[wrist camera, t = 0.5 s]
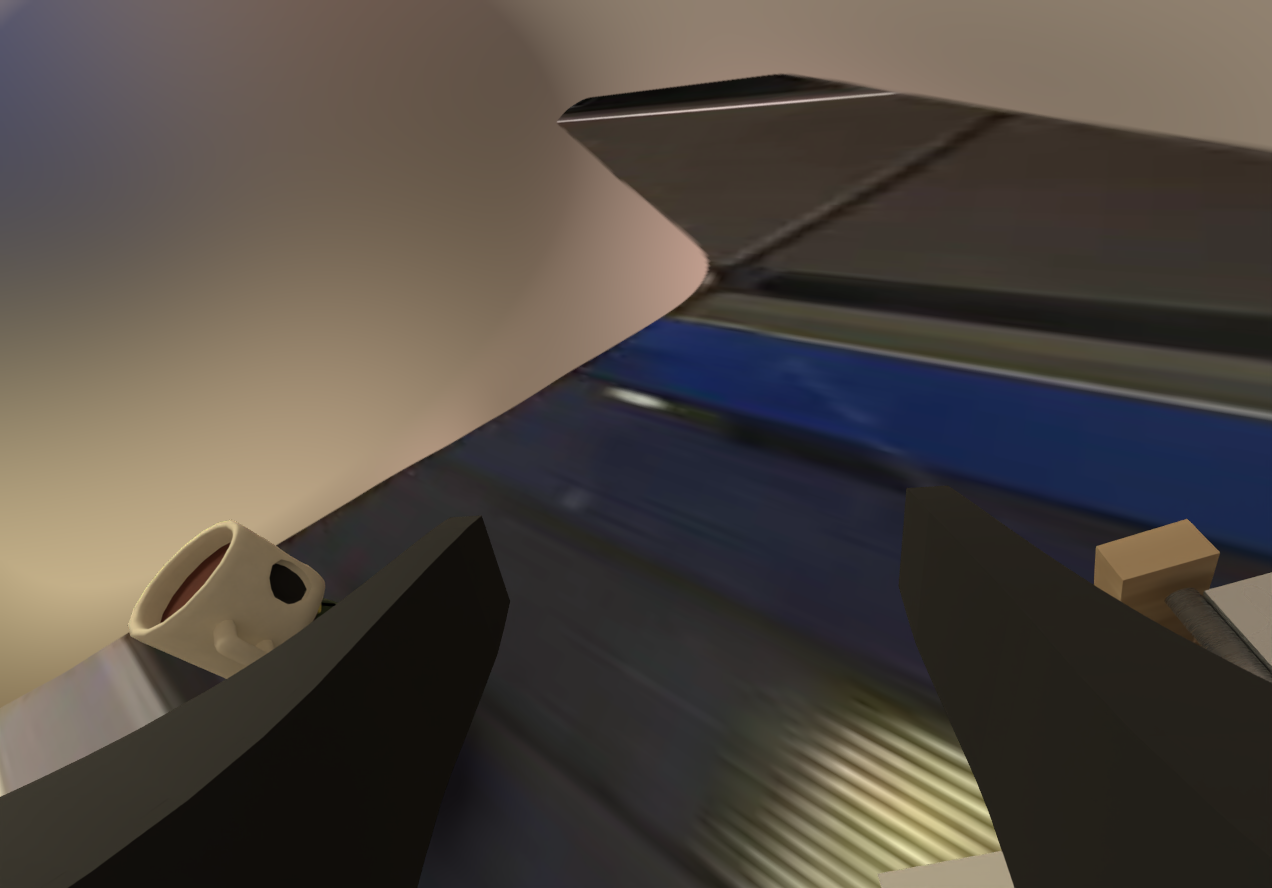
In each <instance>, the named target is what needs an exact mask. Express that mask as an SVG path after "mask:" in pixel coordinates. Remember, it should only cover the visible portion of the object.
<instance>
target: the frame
mask: <svg viewBox="0 0 1272 888" xmlns="http://www.w3.org/2000/svg"><path fill="white" fill-rule="evenodd" d="M1219 555H1220V552H1219V551H1218V550H1217V549H1216V548H1215V547H1214V546H1213V545H1212V544H1211V543H1210V542H1209V541H1208V540H1207V539H1206V538H1205V537H1204V536H1203V535H1202V534H1201V533H1200V532H1199V531H1198V530H1197V529H1196V527H1195V526H1194V525H1193V524H1192V523H1191V522H1190V521H1189V520H1188V519H1186V520H1182V521H1179V522H1176V523H1172V524H1169V525H1166V526H1162V527H1159V528H1156V529H1152V530H1149V531H1146V532H1143V533H1139V534H1136V535H1133V536H1129V537H1126V538H1123V539H1119V540H1116V541H1113V542H1109V543H1106V544H1103V545H1100V546H1096V557H1095V577H1094V585H1095V586H1096V587H1098V588H1100V589H1101V590H1103V591H1105V592H1106V593H1108V594H1109V595H1111V596H1113V597H1114V598H1116V599H1118V600H1119V601H1121V602H1123V603H1124V604H1126V605H1128V606H1129V607H1131V608H1133V609H1134V610H1136V611H1138V612H1139V613H1141V614H1143V615H1144V616H1146V617H1148V618H1150V619H1151V620H1153V621H1155V622H1157V623H1158V624H1160V625H1162V626H1164V627H1166V628H1167V629H1169V630H1171V631H1173V632H1174V633H1176V634H1178V635H1180V636H1182V637H1184V638H1186V639H1188V640H1190V641H1191V642H1193V643H1195V644H1197V645H1199V646H1201V645H1200V644H1199V643H1198V642H1197V640H1196V639H1195V638H1194V637H1193V636H1192V634H1191V633H1190V632H1189V631H1188V630H1187V628H1186V627H1185V626H1184V625H1183V624H1182V622H1181V621H1180V620H1179V619H1178V617H1177V616H1176V615H1175V614H1174V613H1173V611H1172V610H1171V609H1170V608H1169V607H1168V605H1167V604H1166V603H1165V601H1164V600H1165V598H1166V597H1167V596H1169V595H1170V594H1172V593H1173V592H1176V591H1178V590H1181V589H1185V588H1195V589H1196V590H1197V591H1198V592H1199V593H1200V594H1201V595H1202V596H1203V594H1204V591H1206V590H1209V588H1210V584H1211V581H1212V578H1213V574H1214V571H1215V568H1216V565H1217V561H1218V558H1219Z"/></svg>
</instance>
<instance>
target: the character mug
mask: <svg viewBox="0 0 1272 888" xmlns="http://www.w3.org/2000/svg"><path fill="white" fill-rule="evenodd" d="M324 591H325V581H324V580H323V578H322V577H321V576H320V575H319V574H318V573H317V572H316V571H315V570H313V569H312V568H311V567H309V566H308V565H306V564H304V563H302V562H300V561H298V560H296V559H295V558H293V557H291V556H290V555H288V554H287V553H285V552H284V551H282V550H281V549H280V548H278V547H277V546H275V545H274V544H272V543H270V542H269V541H268V540H266V539H265V538H263V537H260V536H259V535H257V534H256V533H254V532H253V531H251V530H249V529H248V528H246V527H244V526H242V525H241V524H239V523H237V522H235V521H233V520H228V521H223V522H219V523H217V524H215V525H214V526H212V527H210V528H208V529H206V530H204V531H203V532H201V533H200V534H199V535H197V536H196V537H195V538H193V539H192V540H191V541H189V542H188V543H187V544H186V545H184V546H183V547H182V548H181V549H180V550H179V551H178V552H177V553H176V554H175V555H174V556H173V557H172V558H171V559H170V560H169V561H168V562H167V563H166V564H165V565H164V566H163V568H162V569H161V570H160V571H159V572H158V574H157V575H156V576H155V577H154V579H153V580H152V581H151V582H150V584H149V585H148V586H147V587H146V589H145V591H144V592H143V594H142V595H141V597H140V599H139V600H138V602H137V604H136V605H135V607H134V609H133V612H132V615H131V618H130V621H129V624H128V629H129V632H130V635H131V637H133V638H135V639H137V640H139V641H141V642H143V643H145V644H148V645H150V646H152V647H155V648H157V649H159V650H161V651H164V652H166V653H168V654H171V655H173V656H175V657H178V658H180V659H182V660H184V661H187V662H189V663H191V664H194V665H196V666H198V667H201V668H203V669H205V670H208V671H210V672H212V673H214V674H217V675H219V676H221V677H224V678H226V679H228V678H229V677H231V676H232V675H234V674H236V673H237V672H239V671H240V670H242V669H244V668H245V667H247V666H248V665H250V664H251V663H253V662H255V661H256V660H258V659H259V658H261V657H262V656H264V655H266V654H267V653H269V652H270V651H272V650H273V649H275V648H276V647H278V646H279V645H281V644H282V643H284V642H285V641H286V640H288V639H289V638H291V637H292V636H294V635H295V634H297V633H298V632H299V631H301V630H302V629H303V628H305V627H306V626H307V625H309V624H310V623H312V622H313V621H314V620H316V619H317V618H318V617H320V616H321V615H322V614H324V613H325V612H327V611H328V610H329V609H331V608H332V607H333V606H335V605H336V604H337V602H334V601H331V600H328V599H325V598H323V596H324Z"/></svg>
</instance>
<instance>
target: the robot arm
mask: <svg viewBox="0 0 1272 888" xmlns="http://www.w3.org/2000/svg"><path fill="white" fill-rule="evenodd" d="M899 589H900V592H901V596H902V599H903V603H904V606H905V610H906V613H907V617H908V620H909V623H910V627H911V630H912V633H913V636H914V639H915V643H916V645H917V647H918V650H919V652H920V654H921V657H922V659H923V661H924V664H925V666H926V668H927V671H928V673H929V675H930V677H931V680H932V682H933V684H934V687H935V689H936V691H937V693H938V696H939V698H940V700H941V702H942V705H943V707H944V709H945V711H946V714H947V716H948V718H949V720H950V723H951V725H952V727H953V729H954V732H955V734H956V736H957V738H958V741H959V743H960V745H961V747H962V750H963V752H964V754H965V756H966V759H967V761H968V763H969V765H970V768H971V770H972V772H973V774H974V777H975V779H976V781H977V784H978V786H979V789H980V791H981V794H982V796H983V799H984V801H985V804H986V806H987V809H988V811H989V814H990V817H991V820H992V823H993V826H994V829H995V832H996V835H997V838H998V841H999V844H1000V846H1001V849H1002V852H1003V855H1004V858H1005V861H1006V864H1007V867H1008V870H1009V873H1010V876H1011V879H1012V882H1013V885H1014V888H1272V683H1271V682H1269V681H1267V680H1265V679H1263V678H1261V677H1259V676H1257V675H1255V674H1253V673H1251V672H1249V671H1247V670H1245V669H1243V668H1241V667H1239V666H1237V665H1235V664H1233V663H1231V662H1229V661H1227V660H1226V659H1224V658H1222V657H1220V656H1218V655H1216V654H1214V653H1212V652H1210V651H1209V650H1207V649H1205V648H1203V647H1201V646H1199V645H1197V644H1195V643H1193V642H1191V641H1190V640H1188V639H1186V638H1184V637H1182V636H1180V635H1178V634H1176V633H1174V632H1173V631H1171V630H1169V629H1167V628H1166V627H1164V626H1162V625H1160V624H1158V623H1157V622H1155V621H1153V620H1151V619H1150V618H1148V617H1146V616H1144V615H1143V614H1141V613H1139V612H1138V611H1136V610H1134V609H1133V608H1131V607H1129V606H1128V605H1126V604H1124V603H1123V602H1121V601H1119V600H1118V599H1116V598H1114V597H1113V596H1111V595H1109V594H1108V593H1106V592H1105V591H1103V590H1101V589H1100V588H1098V587H1096V586H1095V585H1093V584H1091V583H1090V582H1088V581H1087V580H1085V579H1084V578H1082V577H1080V576H1079V575H1077V574H1076V573H1074V572H1073V571H1071V570H1070V569H1068V568H1066V567H1065V566H1063V565H1062V564H1060V563H1059V562H1057V561H1056V560H1054V559H1053V558H1051V557H1050V556H1048V555H1047V554H1045V553H1044V552H1042V551H1041V550H1039V549H1038V548H1036V547H1035V546H1034V545H1032V544H1031V543H1029V542H1028V541H1026V540H1025V539H1023V538H1022V537H1020V536H1019V535H1018V534H1016V533H1015V532H1013V531H1012V530H1010V529H1009V528H1008V527H1006V526H1005V525H1003V524H1002V523H1001V522H999V521H998V520H996V519H995V518H993V517H992V516H991V515H989V514H988V513H986V512H985V511H984V510H982V509H981V508H979V507H978V506H977V505H975V504H974V503H972V502H971V501H970V500H968V499H967V498H965V497H964V496H962V495H961V494H959V493H958V492H956V491H955V490H953V489H952V488H950V487H949V486H935V487H919V488H907V489H906V502H905V514H904V526H903V539H902V551H901V564H900V576H899ZM509 604H510V600H509V597H508V594H507V591H506V588H505V585H504V582H503V579H502V576H501V573H500V570H499V567H498V564H497V561H496V558H495V555H494V551H493V548H492V545H491V542H490V539H489V536H488V533H487V530H486V527H485V524H484V521H483V518H482V516H469V517H453V518H449V519H447V520H446V521H444V522H443V523H441V524H440V525H438V526H437V527H436V528H434V529H433V530H432V531H430V532H429V533H428V534H426V535H425V536H424V537H422V538H421V539H420V540H418V541H417V542H416V543H415V544H413V545H412V546H411V547H410V548H408V549H407V550H406V551H404V552H403V553H402V554H401V555H399V556H398V557H397V558H396V559H394V560H393V561H392V562H391V563H389V564H388V565H387V566H386V567H384V568H383V569H382V570H380V571H379V572H378V573H377V574H375V575H374V576H373V577H372V578H370V579H369V580H368V581H366V582H365V583H364V584H363V585H361V586H360V587H359V588H358V589H356V590H355V591H354V592H352V593H351V594H350V595H348V596H347V597H346V598H344V599H343V600H342V601H340V602H339V603H337V604H336V605H335V606H333V607H332V608H331V609H329V610H328V611H327V612H325V613H324V614H322V615H321V616H320V617H318V618H317V619H316V620H314V621H313V622H312V623H310V624H309V625H307V626H306V627H305V628H303V629H302V630H301V631H299V632H298V633H297V634H295V635H294V636H292V637H291V638H289V639H288V640H286V641H285V642H284V643H282V644H281V645H279V646H278V647H276V648H275V649H273V650H272V651H270V652H269V653H267V654H266V655H264V656H262V657H261V658H259V659H258V660H256V661H255V662H253V663H251V664H250V665H248V666H247V667H245V668H244V669H242V670H240V671H239V672H237V673H236V674H234V675H232V676H231V677H229V678H228V679H226V680H224V681H223V682H221V683H219V684H218V685H216V686H214V687H213V688H211V689H209V690H207V691H206V692H204V693H202V694H200V695H199V696H197V697H195V698H193V699H192V700H190V701H188V702H186V703H184V704H183V705H181V706H179V707H177V708H176V709H174V710H172V711H170V712H168V713H167V714H165V715H163V716H161V717H160V718H158V719H156V720H154V721H152V722H151V723H149V724H147V725H145V726H144V727H142V728H140V729H138V730H136V731H134V732H132V733H131V734H129V735H127V736H125V737H123V738H121V739H119V740H117V741H115V742H113V743H111V744H109V745H107V746H105V747H103V748H101V749H99V750H97V751H95V752H94V753H92V754H90V755H88V756H86V757H84V758H82V759H79V760H77V761H75V762H73V763H71V764H69V765H67V766H65V767H63V768H61V769H59V770H57V771H55V772H53V773H51V774H49V775H46V776H44V777H42V778H40V779H38V780H36V781H34V782H32V783H30V784H27V785H25V786H23V787H21V788H19V789H17V790H14V791H12V792H10V793H8V794H6V795H3V796H1V797H0V888H417V887H418V883H419V879H420V875H421V871H422V867H423V864H424V860H425V857H426V853H427V850H428V846H429V843H430V839H431V836H432V832H433V829H434V825H435V822H436V818H437V815H438V811H439V808H440V804H441V801H442V798H443V795H444V793H445V790H446V787H447V784H448V781H449V778H450V775H451V773H452V770H453V768H454V765H455V762H456V760H457V757H458V755H459V752H460V750H461V747H462V745H463V742H464V739H465V737H466V734H467V732H468V729H469V727H470V724H471V722H472V719H473V716H474V714H475V711H476V709H477V706H478V704H479V701H480V699H481V696H482V693H483V691H484V688H485V686H486V683H487V680H488V678H489V675H490V672H491V670H492V667H493V665H494V662H495V659H496V656H497V654H498V650H499V646H500V642H501V638H502V634H503V630H504V626H505V622H506V617H507V613H508V608H509Z"/></svg>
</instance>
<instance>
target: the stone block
mask: <svg viewBox="0 0 1272 888" xmlns="http://www.w3.org/2000/svg"><path fill="white" fill-rule="evenodd" d="M878 877H879V881H880V884H881V887H882V888H1014V885H1013V882H1012V879H1011V876H1010V873H1009V870H1008V867H1007V864H1006V861H1005V858H1004V855H1003V852H1002V851H999V852H993V853H988V854H982V855H977V856H971V857H966V858H961V859H955V860H950V861H944V862H939V863H933V864H928V865H923V866H917V867H912V868H906V869H901V870H895V871H890V872H884V873H879V874H878Z"/></svg>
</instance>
